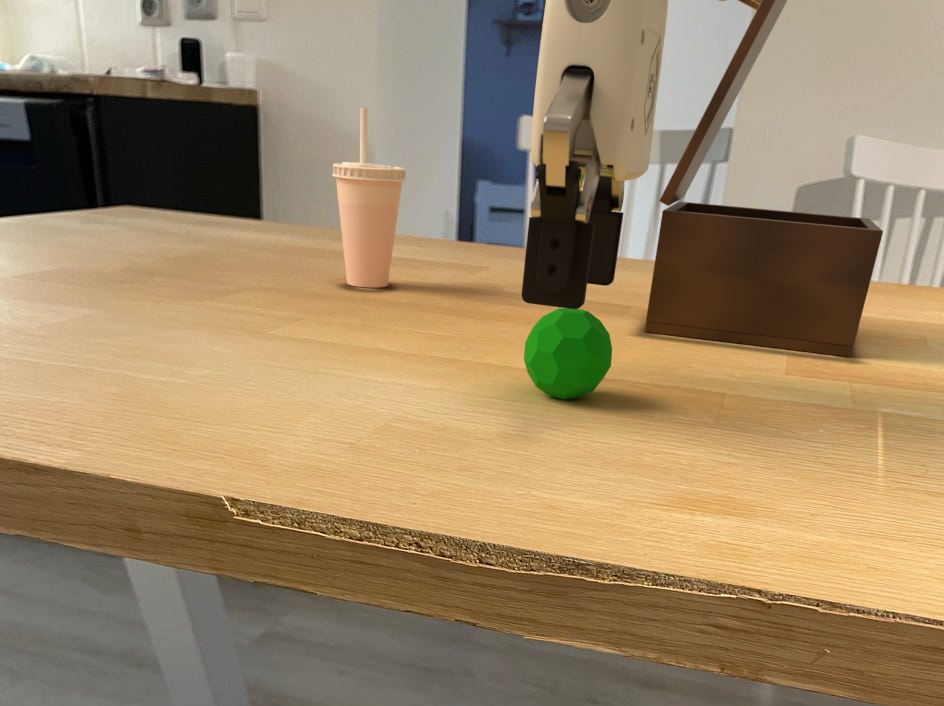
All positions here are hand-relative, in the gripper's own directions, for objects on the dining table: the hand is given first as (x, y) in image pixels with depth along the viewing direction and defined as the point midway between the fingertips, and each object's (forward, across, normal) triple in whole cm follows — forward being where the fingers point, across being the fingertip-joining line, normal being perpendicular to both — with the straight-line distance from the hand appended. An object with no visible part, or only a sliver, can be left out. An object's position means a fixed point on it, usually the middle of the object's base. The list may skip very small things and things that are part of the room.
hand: (570, 293), depth 53 cm
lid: (-11, +30, -5) cm, 32 cm away
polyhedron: (+6, 0, 0) cm, 6 cm away
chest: (+5, +30, -10) cm, 32 cm away
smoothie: (+6, +30, +24) cm, 39 cm away
